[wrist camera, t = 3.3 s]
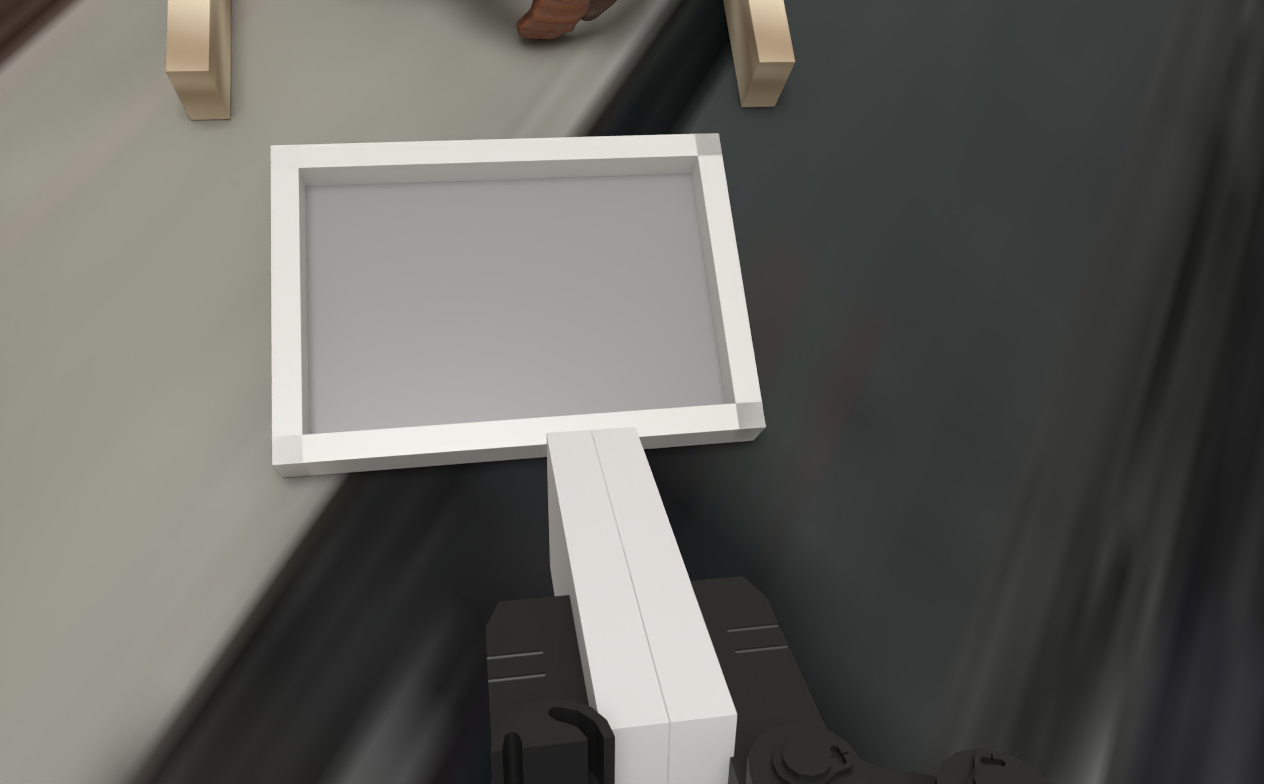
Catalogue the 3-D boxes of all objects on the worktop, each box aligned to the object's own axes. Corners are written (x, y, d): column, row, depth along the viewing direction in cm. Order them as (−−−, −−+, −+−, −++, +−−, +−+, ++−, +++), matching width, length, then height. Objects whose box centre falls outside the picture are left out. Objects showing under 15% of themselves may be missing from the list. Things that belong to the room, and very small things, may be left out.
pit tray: (753, 440, 30) (765, 427, 29) (283, 477, 28) (272, 465, 27) (709, 158, 33) (718, 133, 32) (281, 171, 31) (270, 145, 30)
